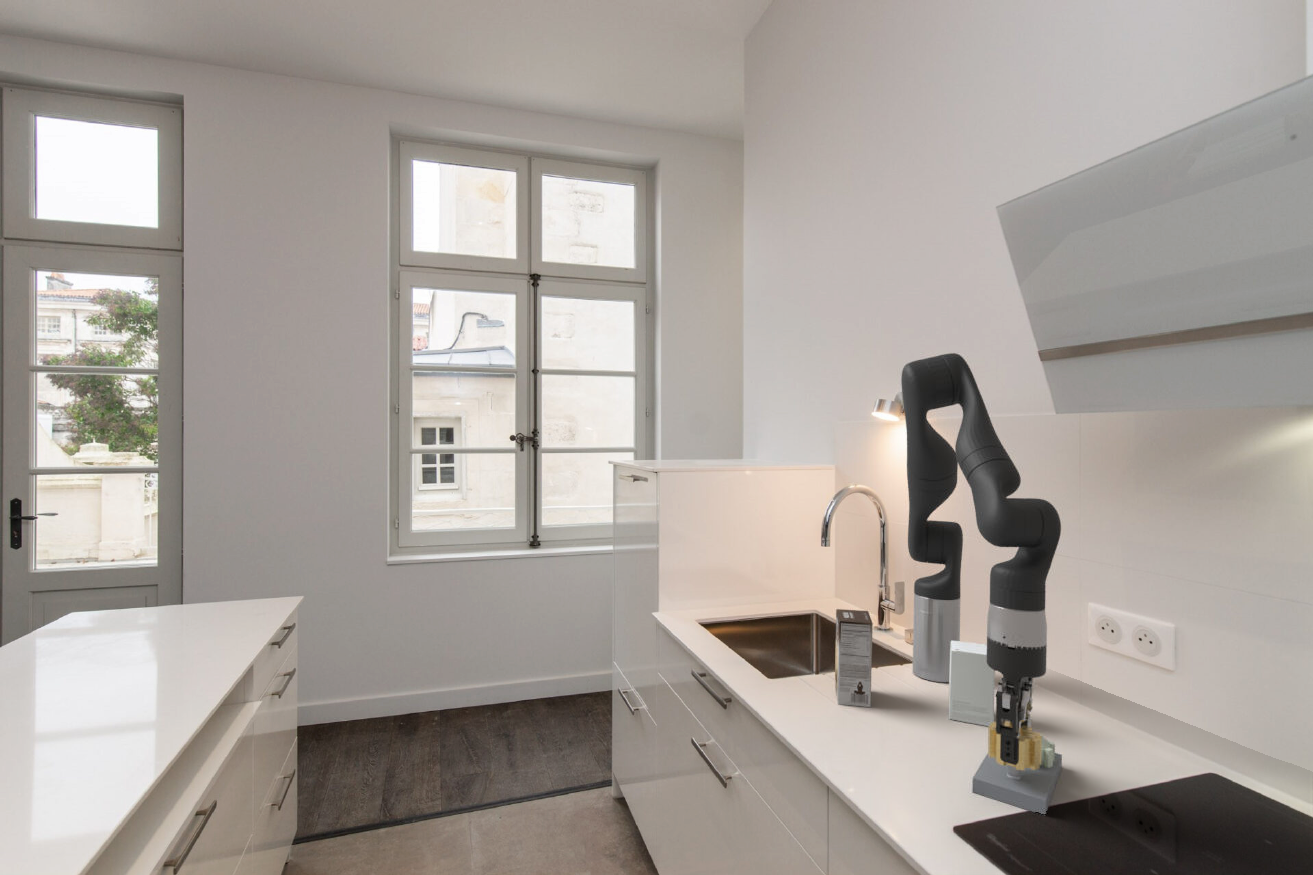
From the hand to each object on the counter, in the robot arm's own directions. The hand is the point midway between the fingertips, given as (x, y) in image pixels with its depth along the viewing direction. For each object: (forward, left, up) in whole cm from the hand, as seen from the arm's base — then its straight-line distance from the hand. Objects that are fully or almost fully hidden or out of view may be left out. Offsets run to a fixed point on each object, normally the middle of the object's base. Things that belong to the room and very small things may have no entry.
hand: (1014, 752), depth 93 cm
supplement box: (-24, -11, -6) cm, 27 cm away
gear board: (-4, 0, -5) cm, 7 cm away
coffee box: (-18, -31, -6) cm, 36 cm away
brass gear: (0, 0, -1) cm, 1 cm away
